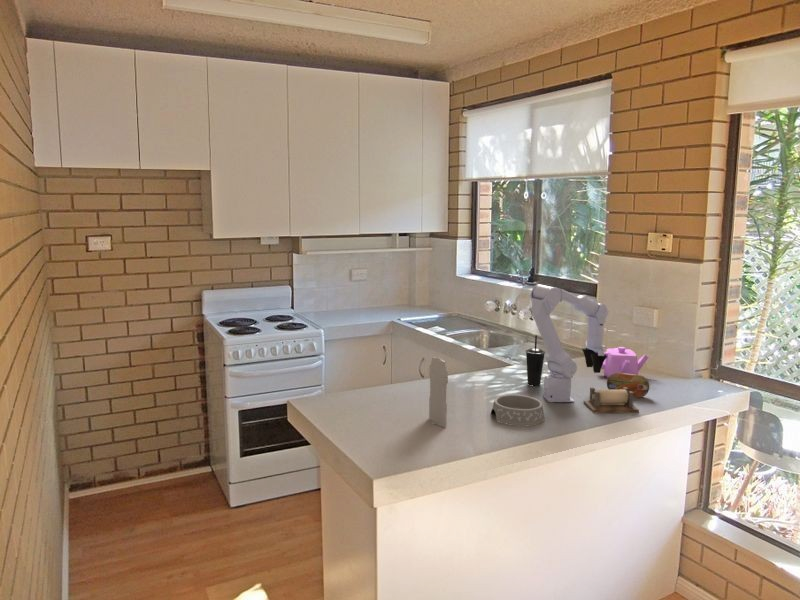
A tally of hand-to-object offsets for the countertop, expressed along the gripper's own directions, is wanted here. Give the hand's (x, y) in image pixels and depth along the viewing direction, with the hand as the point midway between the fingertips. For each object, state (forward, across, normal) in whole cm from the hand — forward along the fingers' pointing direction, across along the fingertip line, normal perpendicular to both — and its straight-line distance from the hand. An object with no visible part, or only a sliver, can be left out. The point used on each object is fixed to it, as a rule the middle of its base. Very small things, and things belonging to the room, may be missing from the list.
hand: (593, 369), depth 232 cm
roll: (+8, -16, -1) cm, 18 cm away
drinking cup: (+10, +12, +19) cm, 24 cm away
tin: (+10, -2, -13) cm, 16 cm away
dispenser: (+10, -29, +62) cm, 69 cm away
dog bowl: (+10, -23, +34) cm, 42 cm away
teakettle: (+10, +23, -21) cm, 33 cm away
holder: (+9, -16, -1) cm, 19 cm away
